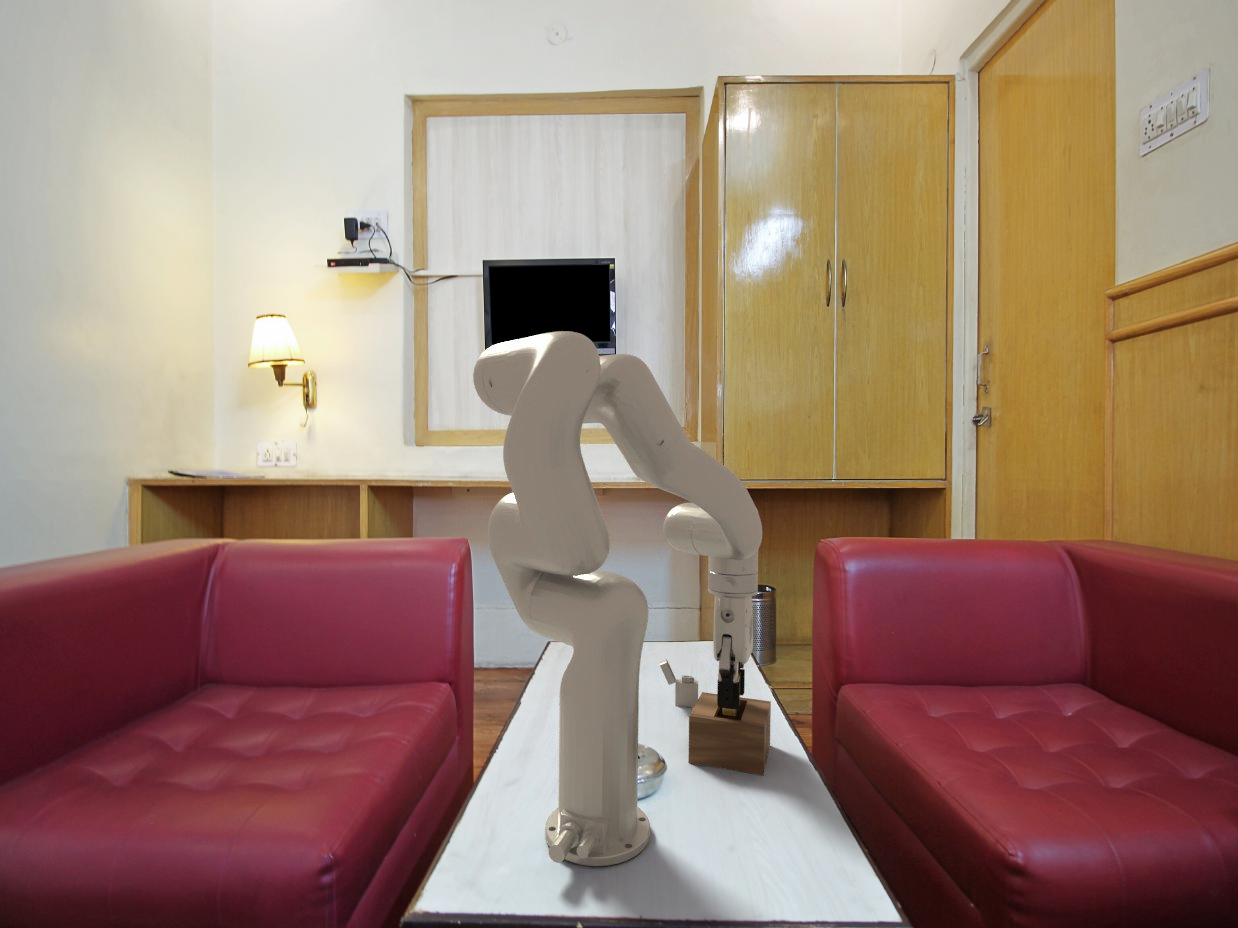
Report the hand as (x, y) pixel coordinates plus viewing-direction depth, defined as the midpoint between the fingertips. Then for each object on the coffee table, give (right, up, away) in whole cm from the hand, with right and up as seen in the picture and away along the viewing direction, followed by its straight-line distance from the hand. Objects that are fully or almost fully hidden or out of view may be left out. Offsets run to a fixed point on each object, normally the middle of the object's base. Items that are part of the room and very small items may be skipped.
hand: (731, 699), depth 95 cm
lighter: (-6, -8, +19) cm, 22 cm away
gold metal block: (0, -2, 0) cm, 2 cm away
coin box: (0, -8, 0) cm, 8 cm away
